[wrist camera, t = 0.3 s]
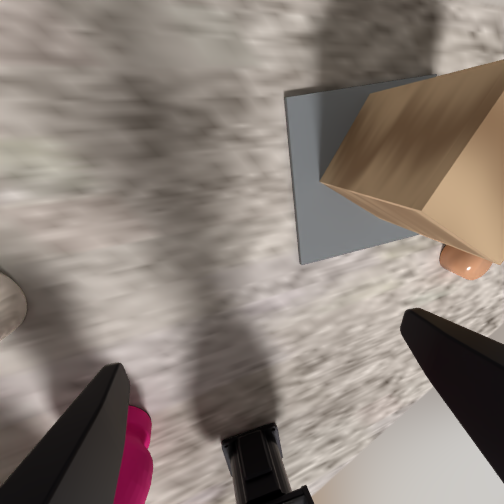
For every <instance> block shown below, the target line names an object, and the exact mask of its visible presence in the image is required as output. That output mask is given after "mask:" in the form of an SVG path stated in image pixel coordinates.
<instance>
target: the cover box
mask: <svg viewBox="0 0 504 504" xmlns="http://www.w3.org/2000/svg"><path fill="white" fill-rule="evenodd" d="M319 182H321V183H322V184H324V185H326V186H327V187H329V188H331V189H332V190H334V191H335V192H337V193H339V194H340V195H342V196H344V197H345V198H347V199H348V200H350V201H352V202H353V203H355V204H357V205H358V206H360V207H361V208H363V209H365V210H366V211H368V212H370V213H371V214H373V215H375V216H376V217H378V218H379V219H382V220H385V221H387V222H390V223H392V224H395V225H397V226H400V227H403V228H405V229H408V230H410V231H413V232H416V233H418V234H421V235H423V236H426V237H428V238H431V239H434V240H436V241H439V242H441V243H444V244H447V245H449V246H452V247H454V248H457V249H459V250H462V251H465V252H467V253H470V254H472V255H475V256H478V257H480V258H483V259H485V260H488V261H490V262H493V263H496V264H498V265H501V263H502V262H503V261H504V59H503V60H500V61H496V62H492V63H488V64H484V65H480V66H476V67H472V68H468V69H464V70H460V71H457V72H453V73H449V74H445V75H441V76H437V77H433V78H429V79H425V80H421V81H418V82H414V83H410V84H406V85H402V86H398V87H394V88H390V89H386V90H382V91H378V92H375V93H371V94H369V96H368V98H367V100H366V101H365V103H364V105H363V107H362V108H361V110H360V112H359V114H358V115H357V117H356V119H355V121H354V122H353V124H352V126H351V127H350V129H349V131H348V133H347V134H346V136H345V138H344V140H343V141H342V143H341V145H340V147H339V148H338V150H337V152H336V154H335V155H334V157H333V159H332V161H331V162H330V164H329V166H328V167H327V169H326V171H325V173H324V174H323V176H322V178H321V180H320V181H319Z"/></svg>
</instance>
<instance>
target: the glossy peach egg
mask: <svg viewBox="0 0 504 504" xmlns="http://www.w3.org/2000/svg"><path fill="white" fill-rule="evenodd" d="M492 263H493V262H490V261H488V260H485V259H483V258H480V257H478V256H475V255H472V254H470V253H467V252H465V251H462V250H459V249H457V248H454V247H452V246H449V245H446V246H445V247H444V249H443V250H442V252H441V255H440V264H441V266H442V267H443V268H445V269H447V270H449V271H451V272H453V273H455V274H457V275H459V276H461V277H463V278H465V279H467V280H475V279H477V278H479V277H481V276H482V275H484V274H485V273H486V272H487V271H488V269H489V268H490V266H491V265H492Z"/></svg>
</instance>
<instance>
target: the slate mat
mask: <svg viewBox="0 0 504 504" xmlns="http://www.w3.org/2000/svg"><path fill="white" fill-rule="evenodd" d="M436 76H437V74H433V75H427V76H420V77H414V78H408V79H401V80H395V81H388V82H382V83H376V84H369V85H363V86H356V87H350V88H344V89H337V90H331V91H324V92H318V93H311V94H305V95H299V96H292V97H286V98H284V99H285V110H286V121H287V131H288V142H289V153H290V164H291V174H292V185H293V196H294V206H295V217H296V228H297V239H298V249H299V260H300V264H301V265H305V264H308V263H312V262H316V261H320V260H324V259H328V258H331V257H335V256H339V255H343V254H347V253H351V252H354V251H358V250H362V249H366V248H370V247H374V246H377V245H381V244H385V243H389V242H393V241H397V240H400V239H404V238H408V237H412V236H416V235H419V234H418V233H416V232H413V231H410V230H408V229H405V228H403V227H400V226H397V225H395V224H392V223H390V222H387V221H385V220H382V219H379V218H378V217H376V216H375V215H373V214H371V213H370V212H368V211H366V210H365V209H363V208H361V207H360V206H358V205H357V204H355V203H353V202H352V201H350V200H348V199H347V198H345V197H344V196H342V195H340V194H339V193H337V192H335V191H334V190H332V189H331V188H329V187H327V186H326V185H324V184H322V183H321V182H319V181H320V180H321V178H322V176H323V174H324V173H325V171H326V169H327V167H328V166H329V164H330V162H331V161H332V159H333V157H334V155H335V154H336V152H337V150H338V148H339V147H340V145H341V143H342V141H343V140H344V138H345V136H346V134H347V133H348V131H349V129H350V127H351V126H352V124H353V122H354V121H355V119H356V117H357V115H358V114H359V112H360V110H361V108H362V107H363V105H364V103H365V101H366V100H367V98H368V96H369V94H371V93H375V92H378V91H382V90H386V89H390V88H394V87H398V86H402V85H406V84H410V83H414V82H418V81H421V80H425V79H429V78H433V77H436Z"/></svg>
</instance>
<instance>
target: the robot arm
mask: <svg viewBox="0 0 504 504" xmlns="http://www.w3.org/2000/svg"><path fill="white" fill-rule="evenodd" d="M400 331H401V334H402V336H403V338H404V340H405V341H406V343H407V345H408V346H409V348H410V350H411V351H412V353H413V355H414V356H415V358H416V360H417V361H418V363H419V365H420V366H421V368H422V370H423V371H424V373H425V375H426V376H427V378H428V379H429V381H430V382H431V383H432V385H433V386H434V388H435V389H436V390H437V392H438V393H439V394H440V396H441V397H442V399H443V400H444V401H445V403H446V404H447V406H448V407H449V408H450V409H451V411H452V412H453V414H454V415H455V417H456V418H457V419H458V421H459V422H460V424H461V425H462V426H463V428H464V429H465V430H466V432H467V433H468V435H469V436H470V437H471V439H472V440H473V441H474V443H475V444H476V446H477V447H478V448H479V450H480V451H481V453H482V454H483V455H484V457H485V458H486V459H487V461H488V462H489V464H490V465H491V466H492V467H493V469H494V471H495V472H496V473H497V475H498V476H499V477H500V479H501V480H502V482H503V483H504V344H502V343H499V342H497V341H495V340H492V339H490V338H488V337H485V336H483V335H481V334H479V333H476V332H474V331H472V330H469V329H467V328H465V327H462V326H460V325H458V324H455V323H453V322H451V321H449V320H446V319H444V318H442V317H439V316H437V315H435V314H432V313H430V312H428V311H425V310H423V309H421V308H413V309H408V310H406V311H405V313H404V316H403V319H402V323H401V326H400ZM129 393H130V382H129V379H128V376H127V374H126V372H125V369H124V367H123V365H122V364H121V363H113V364H108V365H105V366H104V367H103V368H102V369H101V370H100V372H99V373H98V374H97V375H96V376H95V377H94V379H93V380H92V381H91V382H90V383H89V384H88V386H87V387H86V388H85V389H84V390H83V391H82V393H81V394H80V395H79V396H78V397H77V398H76V400H75V401H74V402H73V403H72V404H71V405H70V407H69V408H68V409H67V410H66V411H65V412H64V414H63V415H62V416H61V417H60V418H59V419H58V421H57V422H56V423H55V424H54V425H53V426H52V428H51V429H50V430H49V431H48V432H47V433H46V435H45V436H44V437H43V438H42V439H41V440H40V442H39V443H38V444H37V445H36V446H35V447H34V449H33V450H32V451H31V452H30V453H29V454H28V455H27V457H26V458H25V459H24V460H23V461H22V462H21V464H20V465H19V466H18V467H17V468H16V469H15V471H14V472H13V473H12V474H11V475H10V476H9V478H8V479H7V480H6V481H5V482H4V483H3V485H2V486H1V487H0V504H113V502H114V497H115V492H116V487H117V482H118V477H119V472H120V467H121V462H122V457H123V451H124V445H125V436H126V426H127V415H128V404H129ZM221 445H222V450H223V453H224V456H225V459H226V462H227V465H228V468H229V471H230V474H231V476H232V477H233V484H234V490H235V497H236V504H314V502H313V500H312V497H311V495H310V493H309V490H308V488H307V486H306V485H304V486H302V487H301V488H300V489H297V490H294V491H292V490H291V487H290V484H289V481H288V477H287V474H286V471H285V468H284V465H283V462H282V458H283V456H282V450H281V445H280V439H279V434H278V429H277V425H276V424H275V423H272V424H269V425H266V426H263V427H260V428H257V429H255V430H252V431H249V432H246V433H243V434H240V435H238V436H235V437H232V438H229V439H226V440H224V441H222V443H221Z"/></svg>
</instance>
